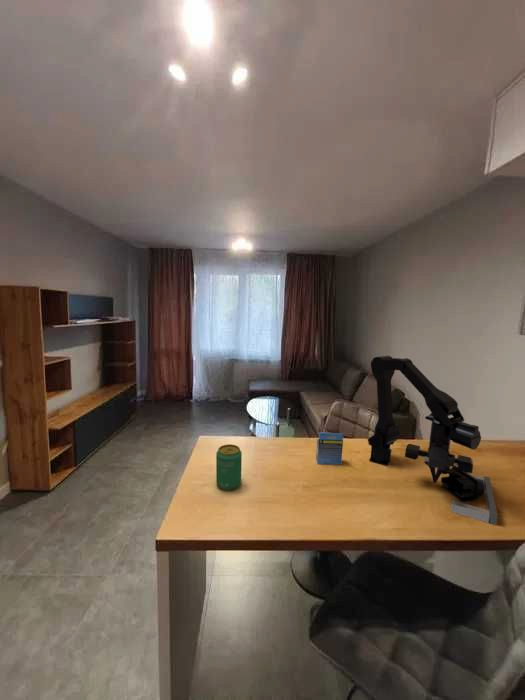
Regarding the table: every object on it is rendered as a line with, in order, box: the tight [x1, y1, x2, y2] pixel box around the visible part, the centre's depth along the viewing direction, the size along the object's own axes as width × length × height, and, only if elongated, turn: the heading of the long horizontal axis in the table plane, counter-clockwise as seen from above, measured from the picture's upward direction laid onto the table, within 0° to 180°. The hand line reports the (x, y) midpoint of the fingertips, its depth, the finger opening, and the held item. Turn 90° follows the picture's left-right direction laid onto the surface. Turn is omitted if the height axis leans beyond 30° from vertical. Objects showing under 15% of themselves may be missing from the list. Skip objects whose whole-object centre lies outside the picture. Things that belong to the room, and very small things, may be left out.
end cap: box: [440, 464, 485, 503], centre depth 104 cm, size 10×7×7 cm
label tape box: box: [315, 431, 344, 465], centre depth 121 cm, size 9×4×12 cm, turn 89°
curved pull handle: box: [450, 473, 499, 526], centre depth 101 cm, size 11×22×3 cm, turn 150°
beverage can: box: [215, 444, 243, 491], centre depth 105 cm, size 8×8×12 cm
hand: (434, 482), depth 106 cm, fingers closed
